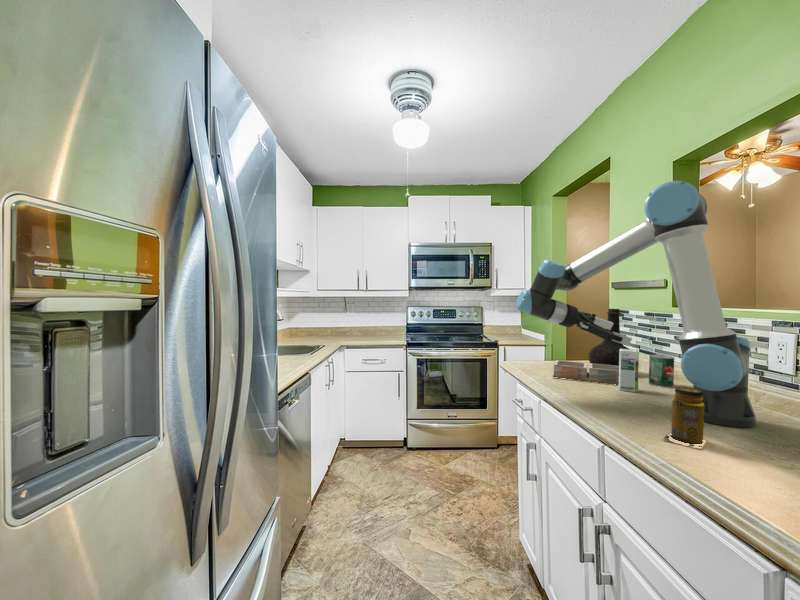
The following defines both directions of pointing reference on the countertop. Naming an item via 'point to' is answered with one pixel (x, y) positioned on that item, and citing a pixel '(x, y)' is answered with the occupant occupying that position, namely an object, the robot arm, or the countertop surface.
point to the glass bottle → (608, 344)
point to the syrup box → (628, 370)
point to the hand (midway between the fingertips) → (620, 333)
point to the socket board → (579, 372)
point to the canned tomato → (661, 370)
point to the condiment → (687, 416)
